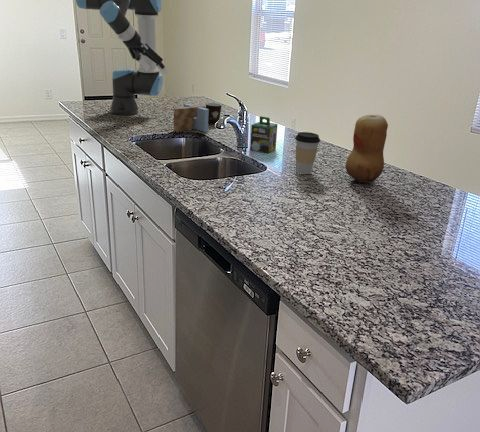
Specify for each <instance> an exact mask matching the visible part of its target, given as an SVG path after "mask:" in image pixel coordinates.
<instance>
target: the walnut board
mask: <svg viewBox="0 0 480 432" xmlns="http://www.w3.org/2000/svg"><path fill="white" fill-rule="evenodd" d="M198 107H202V108H206V105H194V106H191V107H184V106H183V107H176V108H175V107H174V108H173V132H175V131H176V133H179V131H180V132H185V131H184V130H187V131H191V130H190V129H193V124H194V118H197V108H198ZM193 130H194V129H193Z"/></svg>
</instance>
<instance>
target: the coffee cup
mask: <svg viewBox="0 0 480 432" xmlns="http://www.w3.org/2000/svg"><path fill="white" fill-rule="evenodd" d="M294 140H296V142H295V144H296V145H295V173H296V172H297V173H296V174H298V173H301V174H310V173H311V174H312V172H313V167H314V164H315V161H316V156H317V152H318V147H319V143H320V142H321V138H320V136H319V134H317V133H313V132H307V131H303V132H298V133H297V135H296V136H295V137H294ZM301 174H300V175H301ZM311 174H310V175H311Z"/></svg>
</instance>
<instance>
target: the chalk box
mask: <svg viewBox="0 0 480 432" xmlns="http://www.w3.org/2000/svg"><path fill="white" fill-rule="evenodd" d="M263 120H266V122H265V121H263ZM250 128H251V129H250V140H249V141H250V145H249V151H254V152H259V153H263V154H270V153H271V152H273V151H274V150H276V148H277V138H278V137H277V135H278V123H273V122H271V119H270V117H267V116H259V121H258V122H255V123H253V124H251V127H250Z"/></svg>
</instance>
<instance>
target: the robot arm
mask: <svg viewBox="0 0 480 432" xmlns="http://www.w3.org/2000/svg"><path fill="white" fill-rule="evenodd" d="M75 2H76V5H77V7H78V8H79V9H84V10H95V11H96V10H97V11H98V10H99V14H100V15H101V17H102V18H103V21H104V22H105V23H106V24H107V25H108V26H109V27H110V28H111V30H112V31H113V32H114V34H116V35H117V37H118V39H120V40H121V41H122V43H123V44H124V46H126V48H127V50H128V51H129V54H130V56H131V58H132V59H133V60H135V61H137V63H139V67H138V68H137V69H136V71H135V68H122V69H116V70H115V69H114V70H113V72H112V78H111V80H112V101H111V104H110V109H109V110H110V114H114V115H119V116H120V115H121V116H132V115H133V116H134V115H138V114H139V107H138V104H137V101H136V95H140V96H149V97H153V96H155V97H156V96H157V97H158V95H160V93H161V92H162V87H163V83H164V81H163V80H164V78H163V77H164V76H166V75H167V74H168V72H169V70H168V67H166V65H164V63H163V60H164V59H163V58H162V57H161V56H160V55H159V54H158V53H157V48H156V46H157V45H156V44H157V43H156V42H157V41H156V40H157V39H156V18H157V17H158V16H159V13H160V12H161V11H162V0H75ZM128 10H131V11H134V15H135V16H136V18H137V26H138V28H137V30H138V31H137V30H136V28H135V27H134V26H133V25H132V23H131V22H130V21H129V20H128V18H127V17H126V15H127V12H128ZM160 72H161V73H162V74H161V73H160ZM163 75H164V76H163Z"/></svg>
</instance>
